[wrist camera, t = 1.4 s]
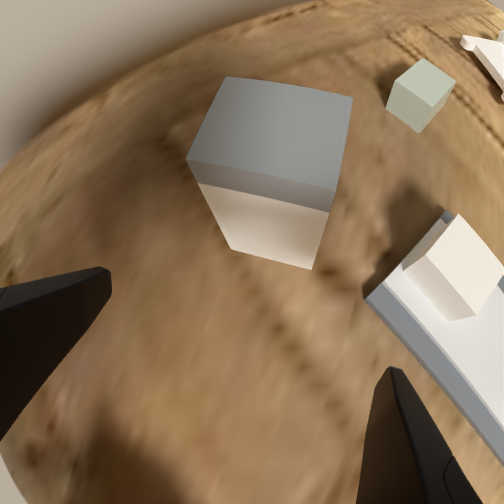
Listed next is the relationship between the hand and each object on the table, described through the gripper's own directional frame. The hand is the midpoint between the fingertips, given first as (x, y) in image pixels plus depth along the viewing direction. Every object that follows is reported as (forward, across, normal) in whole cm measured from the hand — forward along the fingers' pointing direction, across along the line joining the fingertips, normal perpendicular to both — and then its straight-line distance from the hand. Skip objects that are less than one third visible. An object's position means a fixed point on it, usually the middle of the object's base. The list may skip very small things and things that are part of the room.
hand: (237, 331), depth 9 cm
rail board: (+12, -17, +6) cm, 22 cm away
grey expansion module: (+15, +2, +3) cm, 16 cm away
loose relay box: (+27, -8, -9) cm, 29 cm away
